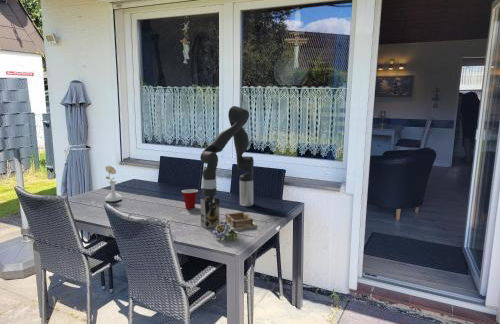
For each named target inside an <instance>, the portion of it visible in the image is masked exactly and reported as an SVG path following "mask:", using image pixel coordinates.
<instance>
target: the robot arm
mask: <svg viewBox="0 0 500 324" xmlns="http://www.w3.org/2000/svg"><path fill="white" fill-rule="evenodd" d="M227 114H228V115H227V116H228V120H229V121H228V122H229V125H230V127H228V128H227V129H225V130H223V131H221V132H220V133H218V134H217V135H216V137H215V139H214V140H213V141H212V143H211V144H209V145H208V146H207V147H206V148H205V149H204V150H203V151H202V152H201V154H200V158H199V159H200V161H201V163H203V164H206V167H205V168H204V169H203V170H202V173H203V174H202V177H203V181H202V190H203V191H202V194H203V196H204V198H206V199H207V200H210V203H211V205H210V204H209V207H210V216H211V217H214V216H215V211H214V210H216V200H215V199H214V197H215V196H216V195H217V174H216V173H217V172H216V171H217V168H218V164H219V156H218V154H217V153H221V152H222V151H223V150H224V149H225V147H226V145H227V144H228V143H229V141H230V140H231V139H232V138H233V143H234V149H235V153H236V154H235V155H236V165H237V169H238V170H240V171H248V172H246V173H244V174H241V175H239V206H242V207H252V206H253V205H254V165H255V164H254V163H255V162H254V157H253V156H243V154H244V153H245V152H246V151H247V149H248V148H249V145H250V142H249V135H248V133H247V131H246V130H245V129H244V125H245V124H246V123H247V122H248V120H249V118H250V112H249V111H248V109H245V108H243V107H240V106H235V105H234V106H231V107H230V108H229V110H228V113H227ZM212 206H213V208H212Z"/></svg>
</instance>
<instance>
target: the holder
mask: <svg viewBox="0 0 500 324" xmlns="http://www.w3.org/2000/svg"><path fill="white" fill-rule="evenodd" d="M226 220H228V223H227V225H231V224H232V227H231V228H230V229H232V230H233V231H238V229H239V230H243V229H250V228H258V225H257V224H256V223H255V222H254V219H253V218H252V217H251V216H249V215H248V214H247V213H246V212H245V211H239V212H233V213H225V219H221V222H225V221H226ZM237 227H238V229H237ZM234 228H235V229H234Z"/></svg>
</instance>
